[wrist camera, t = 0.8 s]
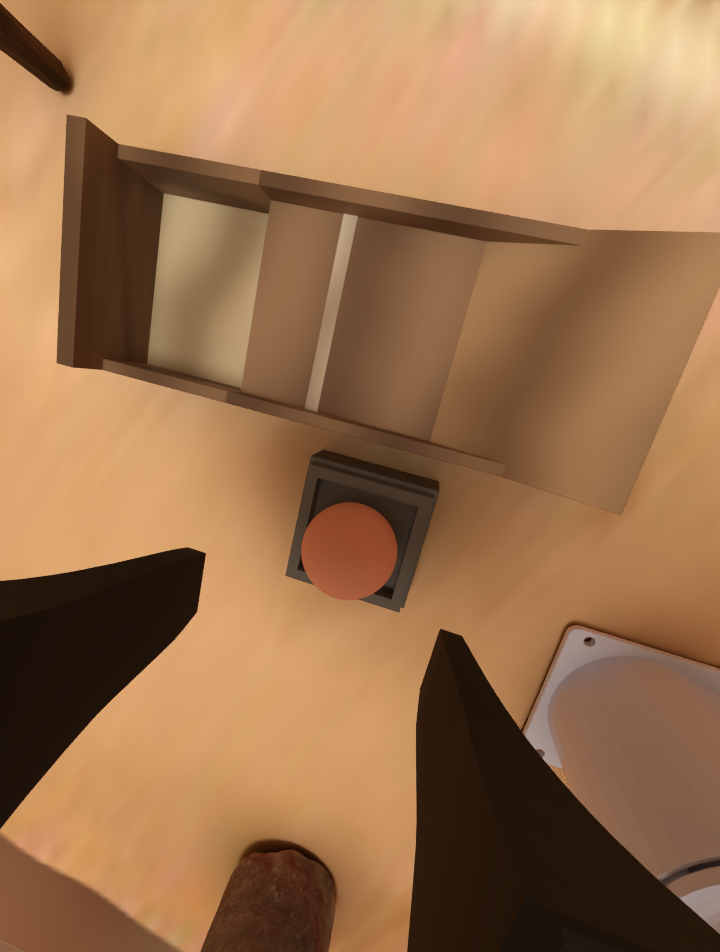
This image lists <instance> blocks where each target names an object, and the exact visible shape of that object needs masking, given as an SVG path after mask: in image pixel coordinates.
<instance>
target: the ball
mask: <svg viewBox="0 0 720 952" xmlns="http://www.w3.org/2000/svg"><path fill="white" fill-rule="evenodd" d="M301 556H302V562H303V566H304V569H305V571H306V574H307V575H308V577H309V579H310V580H311V582H312V583H313V584H314V585H315V586H316V587H317V588H318V589H319V590H321V591H322V592H323V593H325V594H327V595H329V596H331V597H334V598H337V599H342V600H356V599H361V598H364V597H367V596H369V595H371V594H373V593H375V592H376V591H377V590H379V589H380V588H381V587H382V586H383V585H384V584H385V583H386V582H387V580H388V579H389V578H390V576H391V574H392V572H393V570H394V567H395V564H396V560H397V542H396V538H395V535H394V532H393V530H392V528H391V526H390V524H389V523H388V521H387V520H386V519H385V518H384V517H383V516H382V515H381V514H380V513H379V512H377V511H376V510H374V509H373V508H371V507H369V506H366V505H364V504H360V503H354V502H344V503H339V504H336V505H332V506H330V507H328V508H326V509H324V510H323V511H321V512H320V513H319V514H318V515H317V516H315V518H314V519H313V520H312V521H311V523H310V524H309V526H308V527H307V529H306V531H305V534H304V537H303V540H302V546H301Z"/></svg>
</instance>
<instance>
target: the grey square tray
mask: <svg viewBox="0 0 720 952" xmlns="http://www.w3.org/2000/svg"><path fill="white" fill-rule="evenodd" d="M438 493H439V483H438V481H434V480H431V479H427V478H423V477H420V476H416V475H413V474H409V473H405V472H402V471H398V470H394V469H391V468H387V467H383V466H380V465H376V464H373V463H369V462H365V461H362V460H358V459H354V458H351V457H347V456H343V455H340V454H336V453H333V452H329V451H325V450H322V451H320V452H318V453H316V454H314V455H312V456H311V459H310V464H309V467H308V471H307V476H306V481H305V485H304V490H303V495H302V500H301V504H300V509H299V514H298V519H297V523H296V528H295V533H294V537H293V542H292V547H291V552H290V556H289V561H288V566H287V571H286V575H285V576H288V577H291V578H294V579H297V580H300V581H303V582H306V583H309V584H313V583H312V582H311V580H310V579H309V577H308V575H307V574H306V571H305V569H304V566H303V562H302V556H301V546H302V540H303V537H304V534H305V531H306V529H307V527H308V526H309V524H310V523H311V521H312V520H313V519H314V518H315V516H317V515H318V514H319V513H320V512H321V511H323V510H324V509H326V508H328V507H330V506H332V505H336V504H339V503H344V502H354V503H360V504H364V505H366V506H369V507H371V508H373V509H374V510H376V511H377V512H379V513H380V514H381V515H382V516H383V517H384V518H385V519H386V520H387V521H388V523H389V524H390V526H391V528H392V530H393V532H394V535H395V538H396V542H397V560H396V564H395V567H394V570H393V572H392V574H391V576H390V578H389V579H388V580H387V582H386V583H385V584H384V585H383V586H382V587H381V588H380V589H379V590H377V591H376V592H375V593H373V594H371V595H369V596H367V597H364V598H361V599H359V600H362V601H365V602H368V603H371V604H375V605H378V606H381V607H384V608H387V609H390V610H393V611H396V612H400V608H404V605H405V602H406V599H407V595H408V592H409V589H410V586H411V582H412V579H413V576H414V572H415V569H416V566H417V562H418V559H419V556H420V553H421V549H422V546H423V543H424V539H425V536H426V533H427V529H428V526H429V523H430V520H431V516H432V513H433V510H434V506H435V503H436V500H437V497H438ZM313 585H314V584H313Z"/></svg>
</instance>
